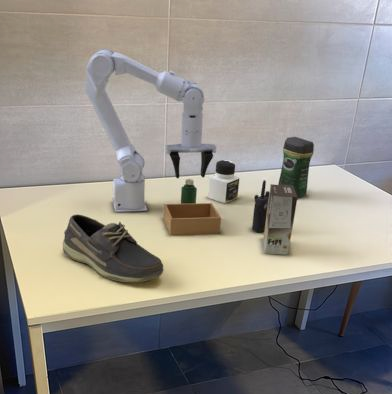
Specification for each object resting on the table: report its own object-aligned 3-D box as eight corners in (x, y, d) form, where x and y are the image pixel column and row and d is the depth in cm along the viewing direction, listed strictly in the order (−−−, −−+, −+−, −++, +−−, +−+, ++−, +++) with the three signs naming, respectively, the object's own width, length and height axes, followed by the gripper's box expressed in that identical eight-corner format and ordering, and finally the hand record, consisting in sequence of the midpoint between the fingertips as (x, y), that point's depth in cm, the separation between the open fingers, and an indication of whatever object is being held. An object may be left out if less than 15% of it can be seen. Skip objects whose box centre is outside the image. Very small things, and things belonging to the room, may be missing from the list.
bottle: (181, 213, 163) (183, 183, 158) (179, 207, 167) (180, 177, 162) (196, 212, 164) (198, 182, 159) (193, 207, 168) (195, 177, 163)
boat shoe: (144, 294, 121) (145, 251, 115) (48, 257, 133) (45, 216, 128) (171, 276, 129) (173, 234, 123) (79, 242, 141) (77, 203, 136)
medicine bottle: (225, 203, 172) (228, 166, 166) (207, 198, 175) (210, 161, 169) (237, 198, 177) (241, 162, 171) (219, 192, 180) (223, 157, 174)
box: (170, 235, 149) (170, 219, 147) (163, 219, 158) (163, 203, 156) (219, 233, 152) (221, 217, 150) (210, 217, 161) (211, 203, 159)
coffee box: (288, 255, 143) (298, 197, 134) (264, 253, 143) (272, 195, 134) (285, 240, 151) (294, 185, 142) (262, 239, 150) (269, 183, 142)
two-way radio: (258, 234, 153) (265, 182, 146) (245, 229, 156) (251, 178, 148) (269, 229, 157) (276, 178, 149) (257, 224, 159) (263, 174, 152)
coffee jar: (309, 196, 183) (319, 140, 174) (294, 200, 179) (303, 143, 169) (288, 187, 189) (297, 133, 180) (273, 191, 185) (280, 136, 175)
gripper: (169, 133, 148) (168, 182, 155) (220, 133, 151) (217, 180, 158) (164, 127, 154) (163, 174, 161) (213, 127, 157) (211, 172, 164)
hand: (190, 176), depth 160 cm, fingers open, 7 cm apart
